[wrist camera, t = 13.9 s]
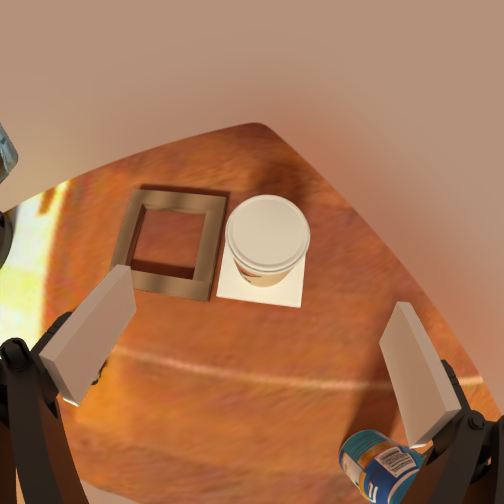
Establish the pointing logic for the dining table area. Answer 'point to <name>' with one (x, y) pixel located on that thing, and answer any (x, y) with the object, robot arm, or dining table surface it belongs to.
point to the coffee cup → (267, 239)
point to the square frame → (207, 249)
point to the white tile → (278, 294)
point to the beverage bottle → (379, 466)
